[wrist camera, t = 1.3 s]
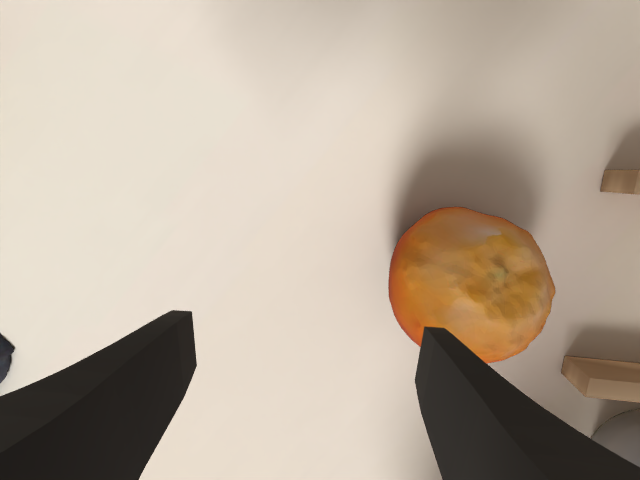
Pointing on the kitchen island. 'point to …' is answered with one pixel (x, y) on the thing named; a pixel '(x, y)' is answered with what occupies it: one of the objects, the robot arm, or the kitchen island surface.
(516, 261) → the fruit
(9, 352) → the grey elongated lump
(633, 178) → the wooden tray
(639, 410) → the grey round dome
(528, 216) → the kitchen island surface
